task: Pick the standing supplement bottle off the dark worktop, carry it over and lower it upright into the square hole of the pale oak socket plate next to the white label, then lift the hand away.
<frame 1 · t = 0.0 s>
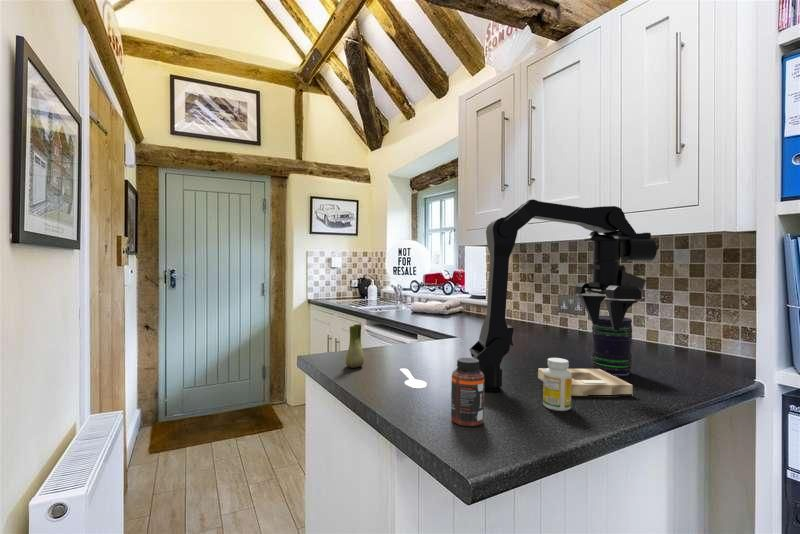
hand: (605, 327, 93), 15 cm above the worktop, fingers open, 9 cm apart
storage jar: (610, 372, 109), on the worktop
spoon: (410, 379, 100), on the worktop
fennel bulb: (355, 367, 109), on the worktop
socket plate: (581, 386, 95), on the worktop
supplement bottle: (557, 407, 80), on the worktop
supplement bottle 2: (467, 422, 72), on the worktop
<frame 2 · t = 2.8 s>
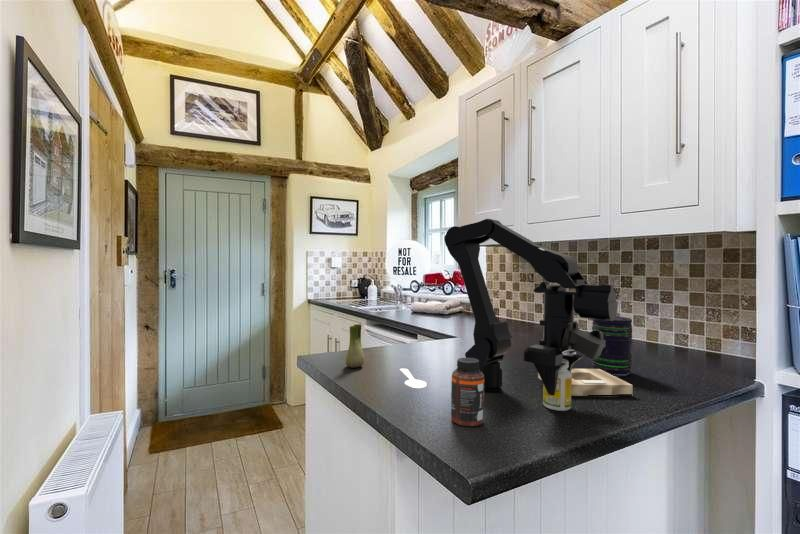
hand: (557, 391, 80), 3 cm above the worktop, fingers closed on supplement bottle, 5 cm apart
supplement bottle: (557, 407, 80), on the worktop, touching gripper
everything else where it was.
when the fingers open (4 cm above the worktop, at t = 8.1 s): supplement bottle stays where it is, resting in socket plate.
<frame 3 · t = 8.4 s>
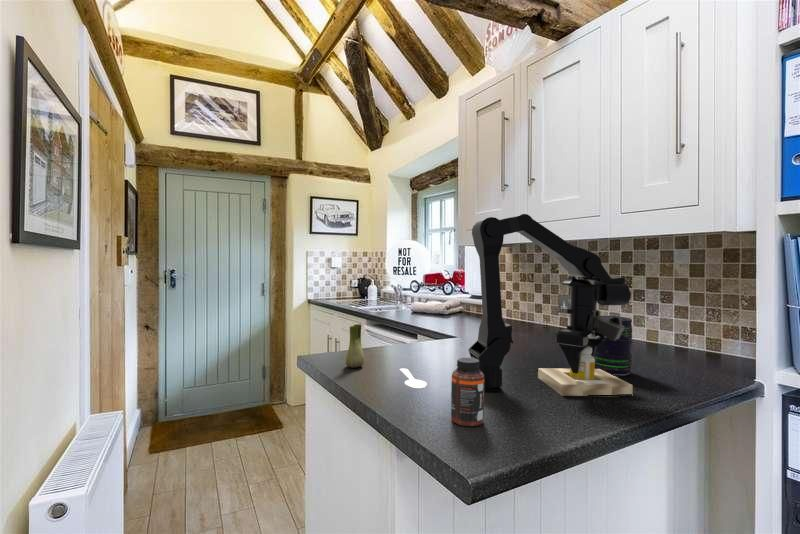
hand: (582, 369, 95), 4 cm above the worktop, fingers open, 8 cm apart
supplement bottle: (581, 387, 95), resting in socket plate
everything else where it was.
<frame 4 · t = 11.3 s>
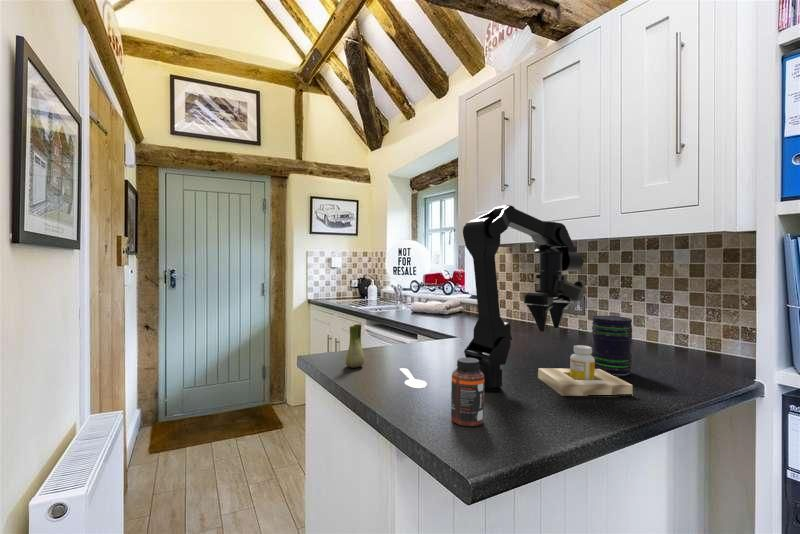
hand: (549, 329, 105), 12 cm above the worktop, fingers open, 9 cm apart
nothing on the worktop moved.
at the end: supplement bottle 0.1 cm off-centre on the socket plate, point 0.0 cm above the socket plate's base; supplement bottle tilted 0°; the gripper is holding nothing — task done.
